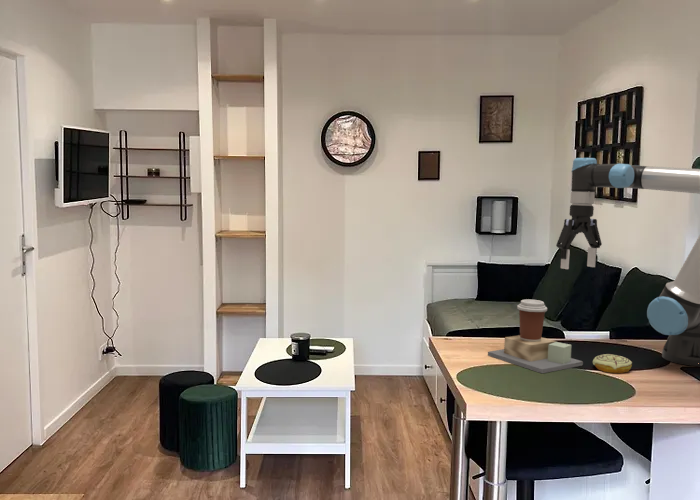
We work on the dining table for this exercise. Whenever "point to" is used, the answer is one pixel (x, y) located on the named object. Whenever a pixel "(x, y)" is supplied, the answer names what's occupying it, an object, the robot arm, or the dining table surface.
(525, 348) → the oak plinth
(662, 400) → the dining table surface
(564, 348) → the sage cube
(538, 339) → the coffee cup
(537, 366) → the build board
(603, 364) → the decorated donut
